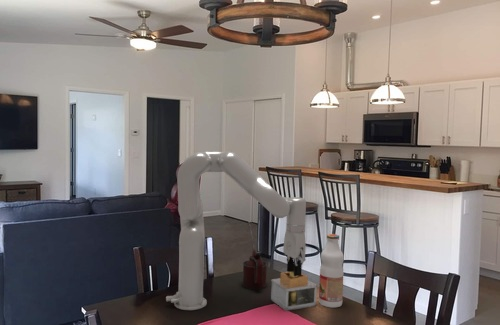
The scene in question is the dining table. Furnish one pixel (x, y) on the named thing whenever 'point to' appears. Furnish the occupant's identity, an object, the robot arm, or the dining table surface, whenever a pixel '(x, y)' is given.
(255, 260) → the oil can
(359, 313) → the dining table surface
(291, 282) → the translucent plastic box
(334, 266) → the fruit juice
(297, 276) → the brass pellet
